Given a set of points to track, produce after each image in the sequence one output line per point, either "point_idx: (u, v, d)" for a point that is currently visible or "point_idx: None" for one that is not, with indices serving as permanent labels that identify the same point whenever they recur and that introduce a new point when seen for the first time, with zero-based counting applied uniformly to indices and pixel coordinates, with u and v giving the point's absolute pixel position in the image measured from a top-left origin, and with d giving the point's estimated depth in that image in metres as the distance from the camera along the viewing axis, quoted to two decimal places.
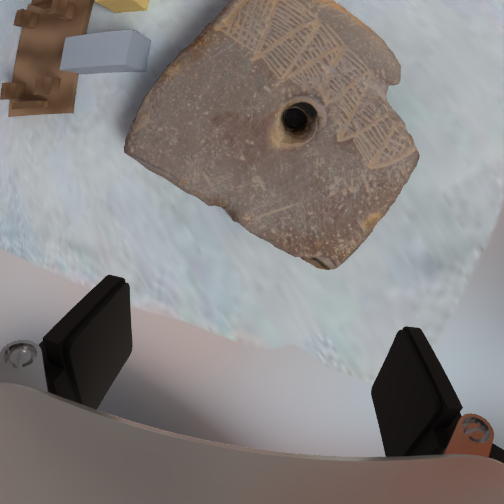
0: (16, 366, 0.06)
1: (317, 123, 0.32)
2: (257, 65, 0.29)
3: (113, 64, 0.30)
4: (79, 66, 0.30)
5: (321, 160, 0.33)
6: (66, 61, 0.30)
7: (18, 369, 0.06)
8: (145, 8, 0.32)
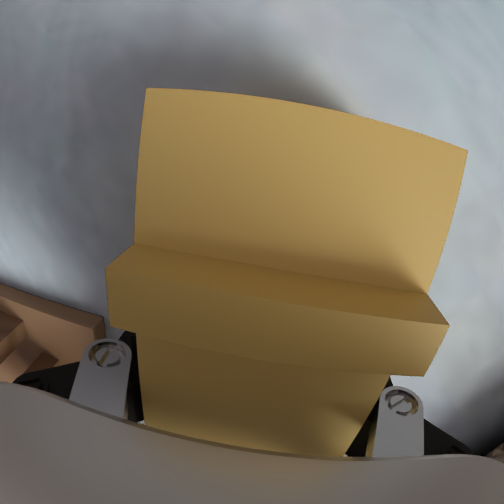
0: (100, 364, 0.07)
1: None
2: None
3: None
4: None
5: None
6: None
7: (101, 368, 0.06)
8: None
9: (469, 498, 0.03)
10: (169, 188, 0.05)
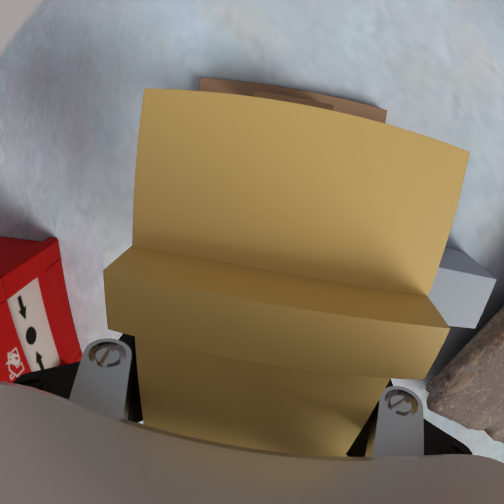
0: (100, 364, 0.07)
1: None
2: None
3: (460, 325, 0.21)
4: None
5: None
6: None
7: (101, 368, 0.06)
8: None
9: (469, 498, 0.03)
10: (167, 190, 0.05)
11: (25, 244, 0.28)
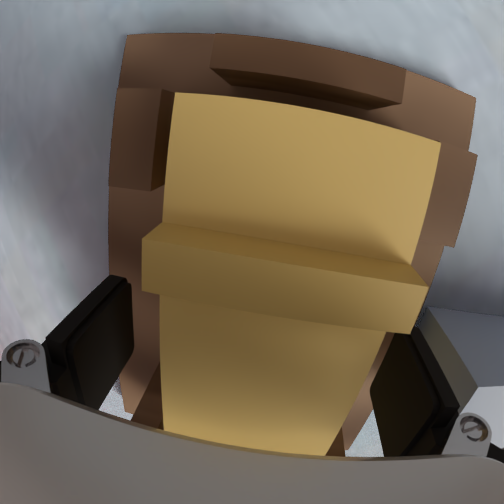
0: (19, 366, 0.06)
1: None
2: None
3: None
4: None
5: None
6: None
7: (21, 369, 0.06)
8: None
9: (469, 498, 0.03)
10: (194, 175, 0.06)
11: None
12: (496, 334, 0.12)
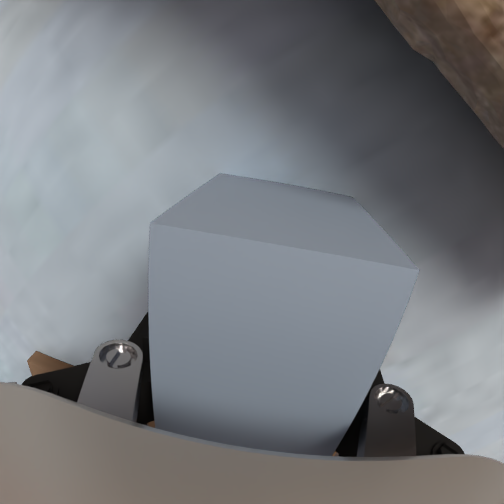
0: (110, 365, 0.07)
1: None
2: None
3: (382, 347, 0.06)
4: None
5: None
6: None
7: (111, 369, 0.06)
8: None
9: (469, 498, 0.03)
10: None
11: None
12: None
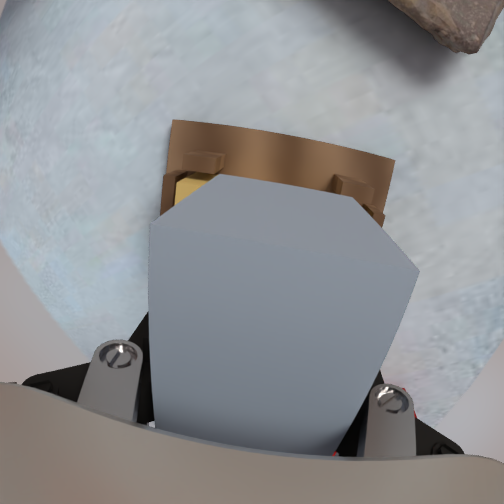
0: (110, 365, 0.07)
1: None
2: None
3: (382, 348, 0.06)
4: None
5: None
6: None
7: (111, 369, 0.06)
8: None
9: (469, 498, 0.03)
10: None
11: None
12: None
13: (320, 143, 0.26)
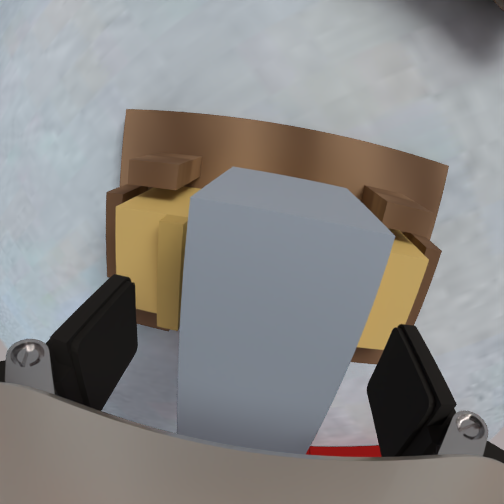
0: (23, 365, 0.06)
1: None
2: None
3: (369, 300, 0.07)
4: (312, 433, 0.09)
5: None
6: None
7: (25, 368, 0.06)
8: None
9: (469, 498, 0.03)
10: (144, 301, 0.15)
11: None
12: None
13: (344, 139, 0.17)
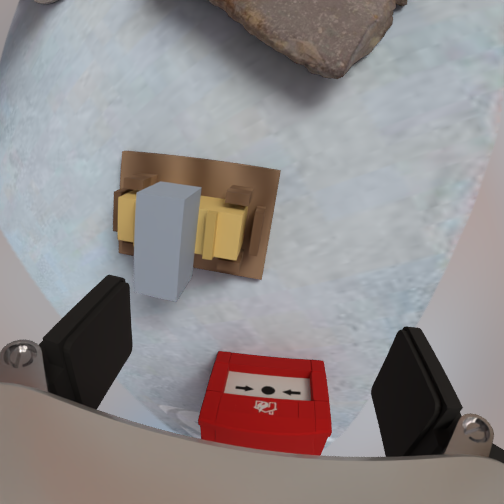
0: (16, 366, 0.06)
1: None
2: None
3: (181, 218, 0.28)
4: (176, 270, 0.29)
5: None
6: (166, 291, 0.30)
7: (18, 369, 0.06)
8: None
9: (469, 498, 0.03)
10: (129, 237, 0.35)
11: None
12: None
13: (221, 163, 0.37)
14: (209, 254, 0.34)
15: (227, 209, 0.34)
